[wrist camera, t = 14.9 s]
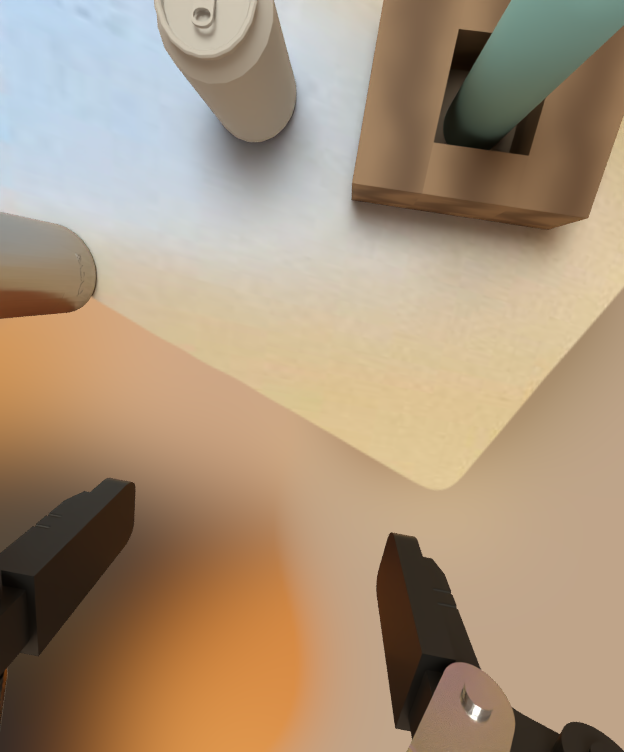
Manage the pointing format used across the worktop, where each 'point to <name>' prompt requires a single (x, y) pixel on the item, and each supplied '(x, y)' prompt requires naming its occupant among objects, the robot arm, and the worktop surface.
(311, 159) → the worktop surface
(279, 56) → the can
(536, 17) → the peg
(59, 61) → the worktop surface
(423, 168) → the well block
